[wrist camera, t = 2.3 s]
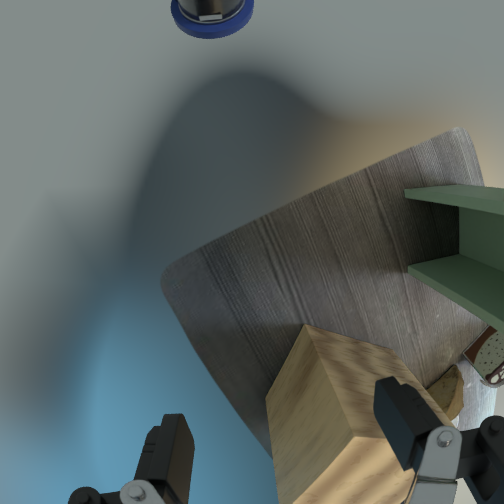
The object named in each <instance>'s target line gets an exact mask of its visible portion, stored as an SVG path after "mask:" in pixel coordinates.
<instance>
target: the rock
mask: <svg viewBox="0 0 504 504" xmlns="http://www.w3.org/2000/svg"><path fill="white" fill-rule="evenodd" d="M463 386H464V381H463V378H462V375H461V372H460V371H459V369H458V368H457V366H456V365H454V366H453V367H451V368H450V370H449V371H448V372H447V373H445V374H444V375H443V376H442V377H441V378H440V379H439V380H438V381H437V382H436V383H434V384H433V385H432V386H431V387H430V388H429V389H428V390H427V392H428V393H429V395H430V396H431V397H432V398H433V399H434V401H435V402H436V403H437V404H438V406H439V407H440V408H441V409H442V411H443V412H444V413H445V414H446V416H447V417H448V418H449V420H450V421H452V420H453V419H455V418H456V417H457V416H458V414H459V413H460V411H461V409H462V408H463V407H464V403H463Z"/></svg>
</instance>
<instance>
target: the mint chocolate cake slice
mask: <svg viewBox="0 0 504 504" xmlns="http://www.w3.org/2000/svg"><path fill="white" fill-rule="evenodd" d="M462 354H463V355H464V357H465V358H466V359H467V360H468V361H469V362H470V364H471V365H472V366H473V367H474V368H475V370H476V371H477V372H478V373H479V374H480V376H481V377H482V378H483V379H484V381H485V382H484V381H482V380H481V379H480V381H481V383H482V384H484V385H486V386H488V387H492V388H497V387H500V386H501V385H503V384H504V334H502V333H501V332H499V331H498V330H496V329H495V328H493V327H492V326H490V325H488V326H487V327H486V328H485V329H484V330H483V332H482V333H481V334H480V335H479V336H478V337H477V338H476V339H475V340H474V341H473V342H472V343H471V344H470V345H469V347H468V348H467V349H466V350H465V351H464V352H463V353H462Z"/></svg>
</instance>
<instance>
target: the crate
mask: <svg viewBox="0 0 504 504" xmlns="http://www.w3.org/2000/svg"><path fill="white" fill-rule="evenodd" d="M389 376H394V377H395V378H396V379H397V381H398V382H399V383H400V385H402V384H405V383H407V384H409V385H411V386H412V387H414V388H416V389H417V391H418V392H419V393H420V395H421V396H422V397H423V398H424V400H425V401H426V403H427V404H428V405H429V406H430V407H431V409H432V410H433V411H434V413H435V414H436V415H437V417H438V418H439V419H440V420H441V422H442V423H443V424H444V425H445V426H452V427H455V426H454V425H453V423H452V422H451V421H450V420H449V418H448V417H447V416H446V414H445V413H444V412H443V411H442V409H441V408H440V407H439V406H438V404H437V403H436V402H435V401H434V399H433V398H432V397H431V396H430V395H429V393H428V392H427V391H426V390H425V388H424V387H423V386H422V385H421V384H420V382H419V381H418V380H417V379H416V377H415V376H414V375H413V374H412V373H411V371H410V370H409V369H408V368H407V367H406V365H405V364H404V363H403V362H402V361H401V360H400V358H399V357H398V356H397V355H396V354H395V352H394V351H393V350H392V349H388V348H385V347H381V346H377V345H374V344H370V343H367V342H363V341H360V340H356V339H353V338H350V337H346V336H343V335H340V334H336V333H333V332H330V331H326V330H323V329H320V328H317V327H314V326H310V325H307V324H304V325H303V327H302V329H301V331H300V333H299V335H298V337H297V339H296V341H295V343H294V345H293V347H292V349H291V351H290V353H289V355H288V357H287V359H286V361H285V362H284V364H283V366H282V368H281V370H280V372H279V374H278V376H277V377H276V379H275V381H274V383H273V385H272V386H271V388H270V390H269V392H268V394H267V395H266V397H265V400H266V408H267V416H268V424H269V431H270V439H271V447H272V454H273V462H274V469H275V477H276V484H277V492H278V499H279V504H400V503H401V502H402V501H403V500H404V499H406V497H407V494H408V492H409V489H410V486H411V483H412V480H413V477H414V474H415V472H414V470H413V468H412V469H409V470H407V471H403V469H402V467H401V465H400V463H399V461H398V459H397V458H396V456H395V454H394V452H393V450H392V448H391V446H390V444H389V442H388V441H387V439H386V437H385V435H384V433H383V431H382V429H381V428H380V426H379V424H378V422H377V420H376V418H375V415H374V411H373V402H374V391H375V382H376V380H379V379H383V378H386V377H389ZM455 428H456V427H455ZM456 429H457V428H456Z"/></svg>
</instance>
